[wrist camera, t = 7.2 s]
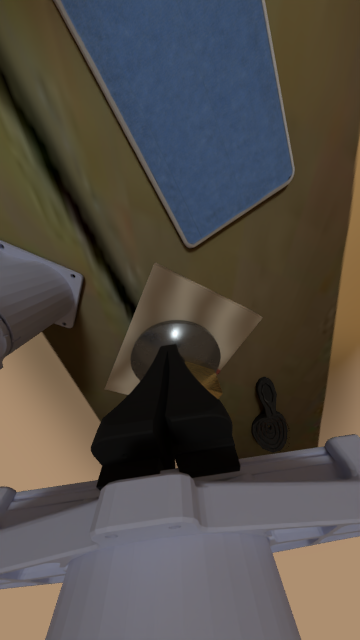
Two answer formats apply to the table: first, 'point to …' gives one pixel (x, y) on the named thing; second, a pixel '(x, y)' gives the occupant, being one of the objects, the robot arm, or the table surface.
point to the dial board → (181, 304)
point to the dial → (180, 350)
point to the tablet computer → (192, 100)
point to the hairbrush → (269, 419)
